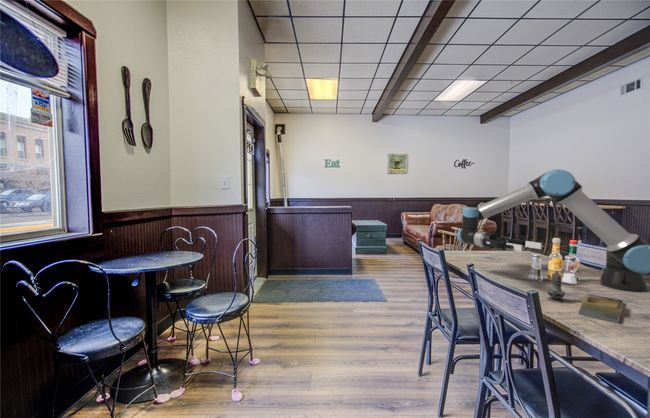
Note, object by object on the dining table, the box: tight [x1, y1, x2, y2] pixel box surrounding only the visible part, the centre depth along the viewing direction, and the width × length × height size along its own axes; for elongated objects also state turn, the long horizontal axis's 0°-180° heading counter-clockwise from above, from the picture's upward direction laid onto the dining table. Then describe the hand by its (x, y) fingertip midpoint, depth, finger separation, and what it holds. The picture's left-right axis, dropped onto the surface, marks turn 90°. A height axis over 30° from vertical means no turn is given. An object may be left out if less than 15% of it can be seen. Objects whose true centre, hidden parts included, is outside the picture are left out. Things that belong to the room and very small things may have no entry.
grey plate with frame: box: [578, 293, 624, 325], centre depth 107 cm, size 26×10×2 cm, turn 132°
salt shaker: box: [546, 271, 566, 304], centre depth 116 cm, size 6×6×12 cm
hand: (531, 247), depth 124 cm, fingers open, 13 cm apart
